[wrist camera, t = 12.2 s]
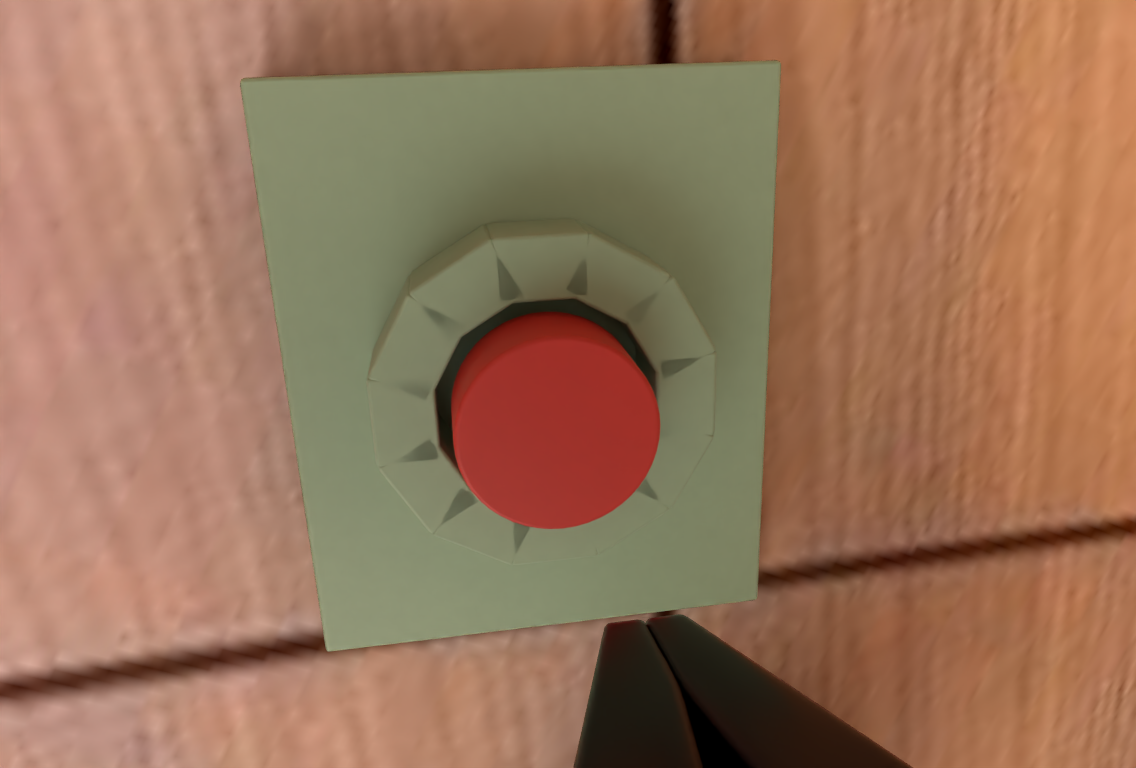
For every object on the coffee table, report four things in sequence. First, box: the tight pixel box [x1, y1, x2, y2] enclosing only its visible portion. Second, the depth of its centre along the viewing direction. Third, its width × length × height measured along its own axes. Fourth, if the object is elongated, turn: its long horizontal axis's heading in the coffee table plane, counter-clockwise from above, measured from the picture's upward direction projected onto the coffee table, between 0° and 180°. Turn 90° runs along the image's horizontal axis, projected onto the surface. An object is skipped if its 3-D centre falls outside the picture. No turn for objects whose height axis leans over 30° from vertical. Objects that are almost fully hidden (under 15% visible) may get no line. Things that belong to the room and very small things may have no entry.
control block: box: [240, 60, 781, 651], centre depth 17 cm, size 12×10×4 cm
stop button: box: [451, 312, 660, 529], centre depth 15 cm, size 4×4×2 cm
